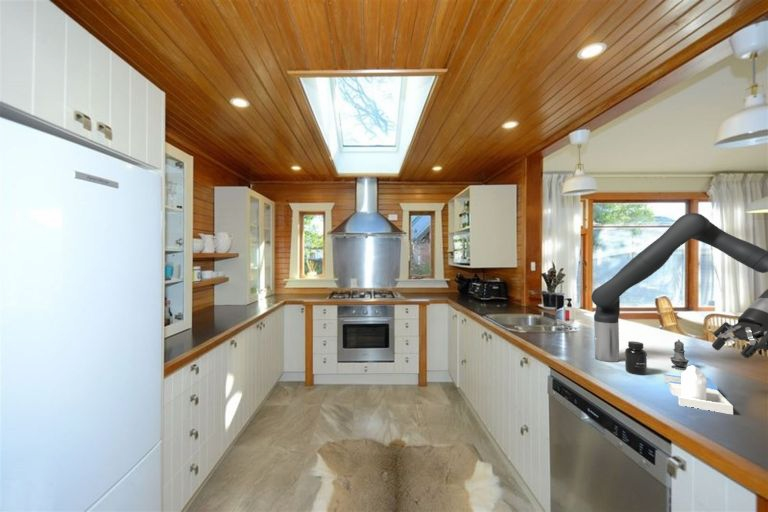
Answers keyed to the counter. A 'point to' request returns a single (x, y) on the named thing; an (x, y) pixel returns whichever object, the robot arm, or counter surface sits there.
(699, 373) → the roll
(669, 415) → the counter surface
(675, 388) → the white rail frame
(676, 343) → the dark grey turned piece
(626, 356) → the supplement bottle
